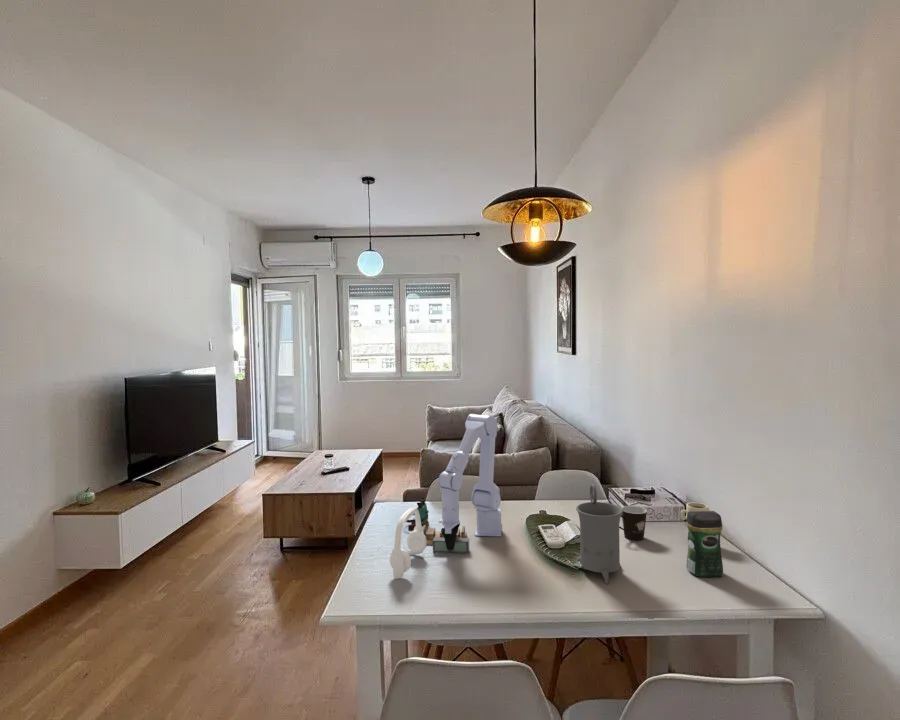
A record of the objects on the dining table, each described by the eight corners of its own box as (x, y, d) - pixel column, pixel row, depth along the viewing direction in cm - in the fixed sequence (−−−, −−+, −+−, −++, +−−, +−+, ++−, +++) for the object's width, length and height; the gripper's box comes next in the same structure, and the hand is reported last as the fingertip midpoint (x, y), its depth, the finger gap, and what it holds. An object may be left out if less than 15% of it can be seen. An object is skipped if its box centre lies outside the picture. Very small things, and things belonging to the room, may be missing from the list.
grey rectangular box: (469, 549, 179) (469, 538, 179) (468, 553, 176) (468, 542, 176) (434, 548, 181) (434, 537, 180) (432, 552, 177) (432, 540, 177)
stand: (466, 535, 193) (466, 524, 192) (464, 545, 183) (464, 534, 183) (423, 533, 195) (423, 523, 194) (418, 544, 185) (418, 533, 184)
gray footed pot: (633, 584, 152) (632, 498, 151) (581, 584, 152) (581, 499, 152) (614, 557, 171) (614, 481, 170) (568, 557, 171) (568, 481, 170)
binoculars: (405, 497, 207) (429, 496, 205) (408, 524, 207) (432, 523, 205) (398, 504, 198) (424, 503, 196) (401, 532, 199) (427, 531, 197)
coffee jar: (714, 566, 163) (714, 507, 162) (727, 578, 155) (727, 515, 154) (682, 567, 163) (682, 507, 162) (693, 578, 155) (693, 516, 154)
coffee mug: (643, 533, 191) (643, 506, 191) (649, 542, 183) (649, 513, 182) (610, 532, 193) (610, 505, 192) (615, 541, 184) (615, 513, 184)
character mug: (710, 539, 185) (710, 502, 184) (717, 547, 178) (717, 509, 177) (678, 537, 186) (678, 501, 186) (683, 545, 179) (683, 508, 179)
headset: (408, 582, 156) (406, 522, 155) (385, 579, 158) (384, 520, 157) (429, 555, 175) (428, 502, 175) (409, 553, 177) (408, 500, 177)
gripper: (441, 500, 185) (442, 538, 186) (435, 514, 171) (436, 555, 171) (461, 500, 184) (462, 539, 185) (457, 514, 170) (457, 556, 171)
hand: (451, 547), depth 178 cm, fingers closed on grey rectangular box, 3 cm apart
